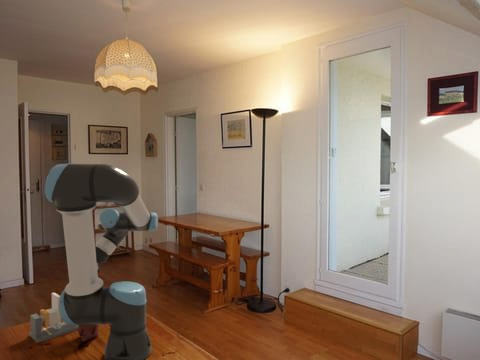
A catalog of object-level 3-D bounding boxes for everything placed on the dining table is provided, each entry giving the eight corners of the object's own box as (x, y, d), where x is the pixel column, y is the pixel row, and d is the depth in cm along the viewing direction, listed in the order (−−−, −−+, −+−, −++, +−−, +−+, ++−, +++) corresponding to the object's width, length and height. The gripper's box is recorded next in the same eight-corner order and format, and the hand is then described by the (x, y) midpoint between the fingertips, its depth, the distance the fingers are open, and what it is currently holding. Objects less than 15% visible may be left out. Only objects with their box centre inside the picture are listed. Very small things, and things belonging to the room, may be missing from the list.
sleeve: (54, 323, 139) (54, 292, 138) (61, 328, 135) (60, 296, 134) (43, 326, 136) (43, 295, 136) (49, 331, 132) (49, 299, 131)
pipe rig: (75, 321, 146) (75, 301, 146) (84, 327, 141) (84, 306, 140) (29, 335, 133) (29, 313, 133) (37, 342, 128) (36, 320, 128)
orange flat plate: (43, 322, 136) (43, 309, 135) (49, 326, 132) (49, 312, 132) (40, 323, 135) (40, 309, 135) (45, 327, 131) (45, 313, 131)
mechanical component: (108, 332, 137) (92, 345, 127) (85, 329, 139) (67, 342, 129) (108, 300, 136) (92, 310, 126) (84, 298, 138) (67, 308, 128)
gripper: (116, 258, 147) (75, 310, 135) (101, 253, 156) (61, 301, 144) (103, 247, 143) (60, 300, 131) (88, 243, 151) (47, 292, 140)
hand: (60, 301), depth 138 cm, fingers closed
